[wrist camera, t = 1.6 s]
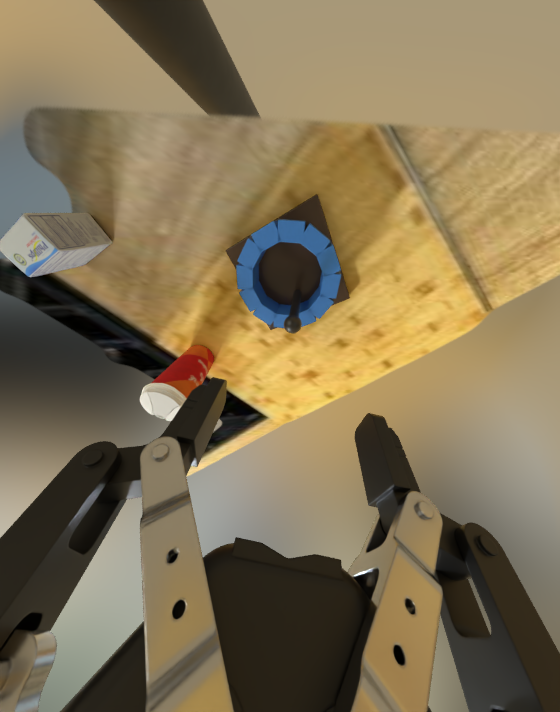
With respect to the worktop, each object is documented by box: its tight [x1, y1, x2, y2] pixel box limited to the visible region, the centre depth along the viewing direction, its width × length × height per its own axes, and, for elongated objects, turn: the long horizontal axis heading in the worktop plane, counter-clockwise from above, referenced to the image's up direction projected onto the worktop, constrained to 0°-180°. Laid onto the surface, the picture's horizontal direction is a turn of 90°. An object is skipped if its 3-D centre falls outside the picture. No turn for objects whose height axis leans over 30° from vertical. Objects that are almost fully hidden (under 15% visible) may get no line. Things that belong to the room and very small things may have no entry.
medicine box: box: [0, 213, 112, 277], centre depth 28 cm, size 8×4×9 cm, turn 116°
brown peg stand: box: [226, 194, 350, 333], centre depth 25 cm, size 14×14×13 cm
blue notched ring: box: [236, 219, 341, 328], centre depth 28 cm, size 14×14×4 cm
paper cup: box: [140, 345, 214, 421], centre depth 37 cm, size 8×8×14 cm
